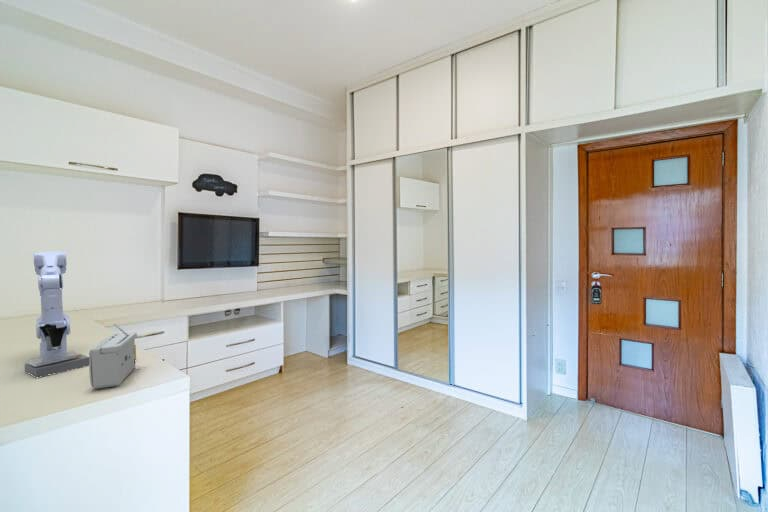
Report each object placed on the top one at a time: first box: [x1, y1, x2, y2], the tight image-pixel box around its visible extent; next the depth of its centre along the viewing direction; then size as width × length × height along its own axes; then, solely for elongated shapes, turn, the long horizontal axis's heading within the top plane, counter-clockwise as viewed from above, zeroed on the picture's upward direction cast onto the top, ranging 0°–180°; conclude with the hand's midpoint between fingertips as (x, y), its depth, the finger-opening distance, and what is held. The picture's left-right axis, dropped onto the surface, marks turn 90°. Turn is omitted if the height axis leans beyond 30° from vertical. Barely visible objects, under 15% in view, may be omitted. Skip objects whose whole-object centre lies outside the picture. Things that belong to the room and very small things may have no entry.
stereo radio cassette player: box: [88, 323, 138, 390], centre depth 124 cm, size 21×8×20 cm, turn 20°
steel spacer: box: [46, 335, 62, 351], centre depth 134 cm, size 4×4×5 cm
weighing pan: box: [26, 350, 82, 367], centre depth 134 cm, size 8×13×1 cm, turn 148°
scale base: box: [24, 353, 89, 378], centre depth 135 cm, size 12×15×3 cm
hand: (54, 345), depth 134 cm, fingers closed on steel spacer, 4 cm apart
